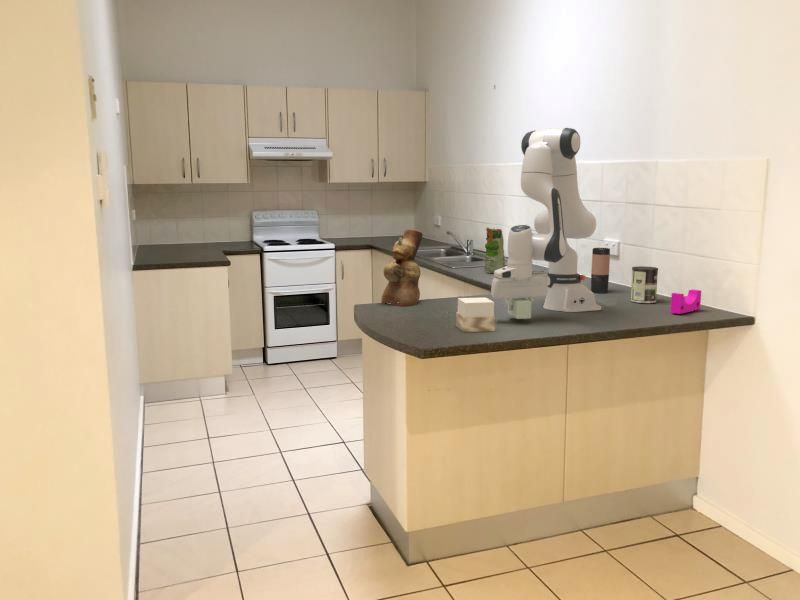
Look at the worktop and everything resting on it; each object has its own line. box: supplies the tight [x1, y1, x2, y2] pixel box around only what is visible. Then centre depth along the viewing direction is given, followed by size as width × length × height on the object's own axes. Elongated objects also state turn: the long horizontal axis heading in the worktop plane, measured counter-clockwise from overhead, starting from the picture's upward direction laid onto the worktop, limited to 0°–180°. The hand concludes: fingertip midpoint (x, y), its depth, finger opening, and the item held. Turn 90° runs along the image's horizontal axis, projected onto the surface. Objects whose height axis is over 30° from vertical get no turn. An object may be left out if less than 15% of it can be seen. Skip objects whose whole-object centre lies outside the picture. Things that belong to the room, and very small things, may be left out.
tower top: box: [457, 297, 495, 318], centre depth 239 cm, size 10×10×5 cm
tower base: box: [455, 311, 497, 333], centre depth 240 cm, size 11×11×5 cm
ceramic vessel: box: [380, 229, 423, 307], centre depth 287 cm, size 16×22×30 cm
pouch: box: [484, 227, 506, 275], centre depth 376 cm, size 11×12×25 cm
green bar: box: [507, 297, 532, 320], centre depth 251 cm, size 5×11×6 cm, turn 9°
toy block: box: [669, 289, 702, 315], centre depth 272 cm, size 15×6×8 cm, turn 128°
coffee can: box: [630, 265, 659, 304], centre depth 291 cm, size 10×10×14 cm
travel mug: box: [590, 247, 611, 295], centre depth 312 cm, size 8×8×20 cm
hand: (519, 309), depth 251 cm, fingers closed on green bar, 5 cm apart
